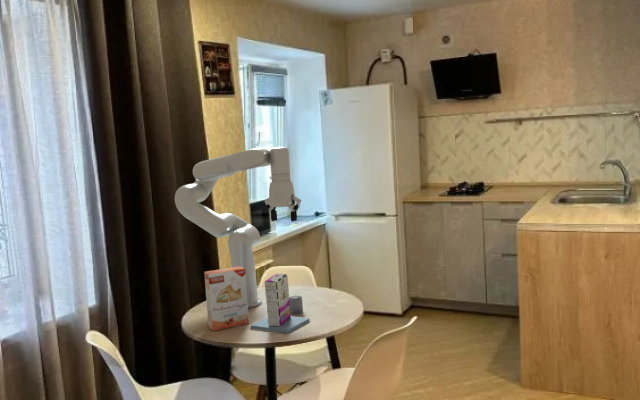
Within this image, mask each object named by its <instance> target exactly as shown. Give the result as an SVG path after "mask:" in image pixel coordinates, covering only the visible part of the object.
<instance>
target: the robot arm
mask: <svg viewBox="0 0 640 400" xmlns="http://www.w3.org/2000/svg"><path fill="white" fill-rule="evenodd" d="M268 166H270V175H269V179H270V180H271V182H269V189H268V197H267V198H266V199H265V200H264V203H265V205H266V207H267V210H268V211H269V212H270V220H271V222H274V221H275V222H277V220H278V212H277V210H276V209H277V208H287V207H288V208H289V209H290V213H289V214H290V222H296V221H298V214H297V213H298V212H297V211H298V210H299V208H300V206H301V203H302V199H301V198H299V197H297V196H296V195H295V189H294V185H293V184H294V183H293V181H292V180H291V179H292V178H291V167H290V155H289V149H288V147H286V146H276V147H271V148H270V147H256V148H255V147H254V148H251V149H247V150H241V151H238V152H234V153H231V154H226V155H221V156H218V157H214V158H210V159H206V160H202V161H200V162H198V163H196V164H195V165H194V166H193V168H192V175H193V177H194V179H195V181H194V182H193V183H188V184H184V185H182V186H180V187H179V188H178V189H177V190H176V192H175V194H174V203H175V206H176V209H177V211H178V212H179V213H180V214H181V215H182V216H183V218H185V219H187V220H189V221H190V222H191V223H193V224H195V225H197V227H200V228H201V229H203V230H204V231H205V232H207V233H209V234H210V235H212V236H214V237H215V238H218V239H222V238H226V237H227V236H228V239H227V248H228V252H229V255H230V264H231V265H230V266H231V268H232V267H239V266H240V267H242V268H244V269H245V272H246V286H247V301H248V309H249V308H254V307H257V306H260V305H261V304H263V303H262V299H261V298H259V297H258V287H257V275H256V262H255V257H254V253H253V248H254V247H255V246H257V245H258V243H259V242H260V238H261V237H260V236H261V235H260V232H259V230H258V229H257V227H255V226H254V225H252V224H251V223H249V222H248V221H246V220H244V219H243V218H241V217H239V216H238V215H236V214H234V213H231V212H223V213H218V212H216V211H214V210H212V209H211V208H209V207H208V206H206V205H204V204H201V203H202V202H204V201H205V200H206V199H207V198H208V197H209V195H210V194H211V192H212V191H213V189H214V188H215V185H216V184H217V182H218V181H219V180H220V179H223V178H227V177H230V176H234V175H236V174H237V173H239V172H244V171H247V170H252V169H256V168H263V167H268Z"/></svg>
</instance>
